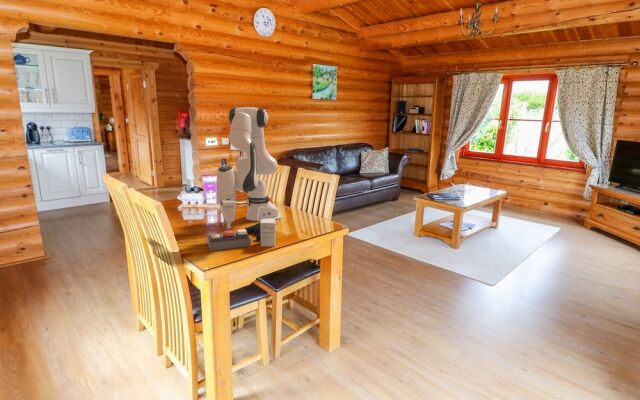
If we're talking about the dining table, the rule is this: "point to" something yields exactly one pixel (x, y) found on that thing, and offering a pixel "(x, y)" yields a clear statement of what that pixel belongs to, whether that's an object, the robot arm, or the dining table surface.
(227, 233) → the red button
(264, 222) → the supplement box
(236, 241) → the button box
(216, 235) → the button
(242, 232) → the button
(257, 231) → the gaming controller
